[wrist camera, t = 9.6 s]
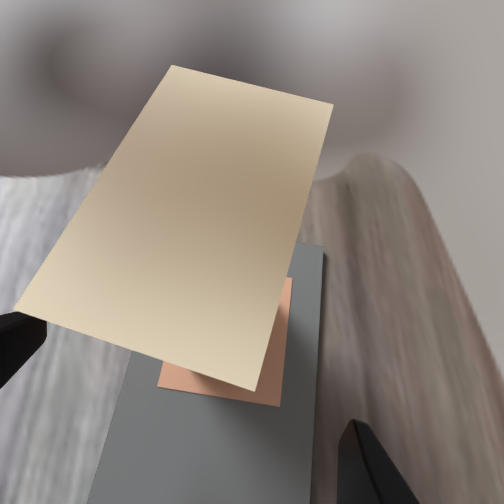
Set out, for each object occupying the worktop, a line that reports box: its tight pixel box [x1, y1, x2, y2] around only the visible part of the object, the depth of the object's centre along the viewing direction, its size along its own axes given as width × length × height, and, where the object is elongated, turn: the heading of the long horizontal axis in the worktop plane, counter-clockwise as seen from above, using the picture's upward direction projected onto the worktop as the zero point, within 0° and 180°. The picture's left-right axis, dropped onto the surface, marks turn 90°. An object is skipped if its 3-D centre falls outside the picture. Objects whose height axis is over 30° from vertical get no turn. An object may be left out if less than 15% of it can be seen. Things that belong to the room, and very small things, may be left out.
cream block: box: [13, 65, 333, 392], centre depth 10 cm, size 5×3×13 cm, turn 163°
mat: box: [87, 242, 324, 504], centre depth 15 cm, size 22×10×1 cm, turn 172°
